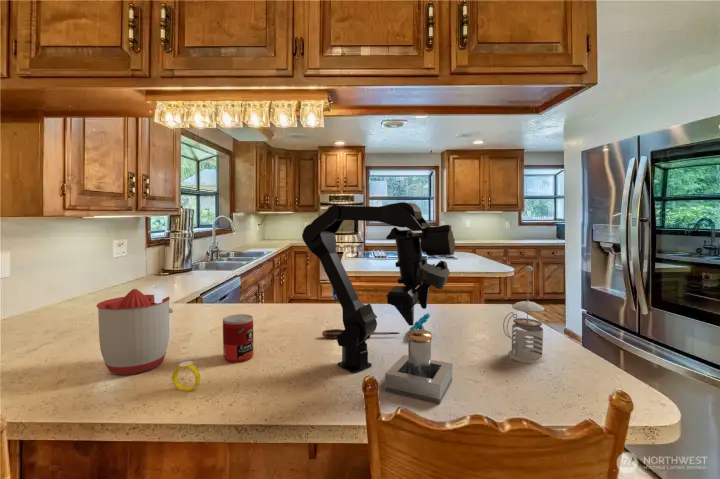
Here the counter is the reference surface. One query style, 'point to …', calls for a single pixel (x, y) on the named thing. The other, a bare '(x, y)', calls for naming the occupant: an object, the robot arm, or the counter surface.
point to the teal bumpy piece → (420, 323)
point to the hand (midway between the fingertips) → (417, 316)
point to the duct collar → (419, 381)
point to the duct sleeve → (419, 353)
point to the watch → (185, 366)
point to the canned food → (238, 338)
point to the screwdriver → (336, 332)
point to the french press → (526, 333)
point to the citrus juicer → (133, 332)
